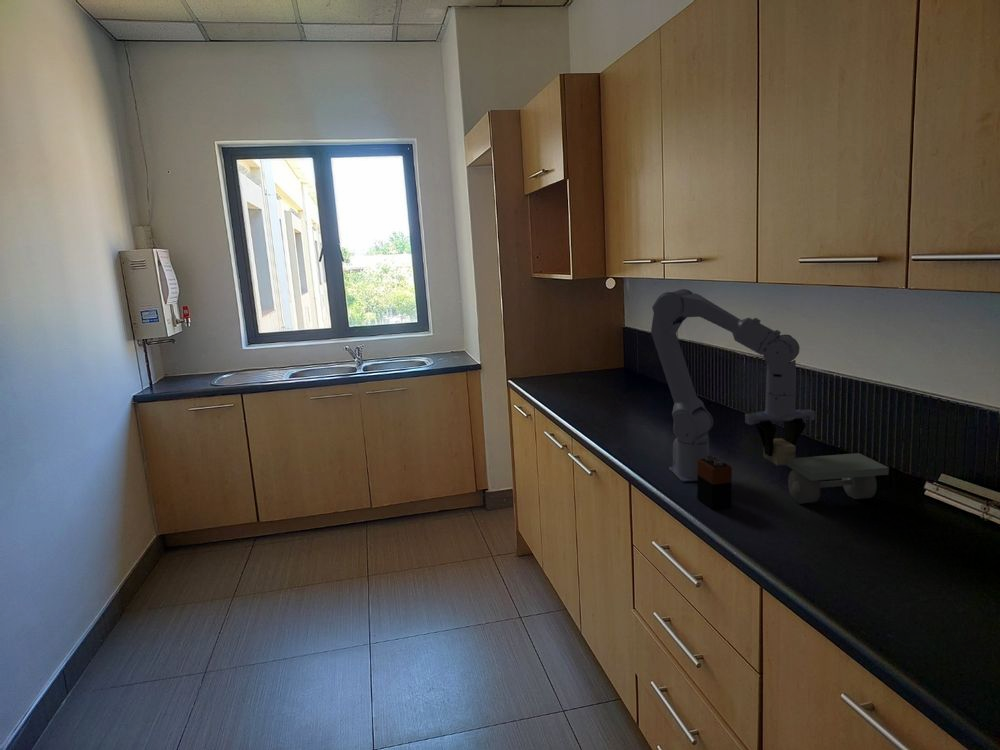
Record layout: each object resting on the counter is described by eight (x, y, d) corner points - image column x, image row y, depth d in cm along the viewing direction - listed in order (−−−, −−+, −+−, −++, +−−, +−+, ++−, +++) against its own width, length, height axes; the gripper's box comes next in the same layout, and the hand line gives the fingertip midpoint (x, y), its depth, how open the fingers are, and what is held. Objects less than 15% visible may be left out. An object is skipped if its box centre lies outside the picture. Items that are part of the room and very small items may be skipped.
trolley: (785, 496, 137) (786, 458, 136) (856, 490, 138) (858, 453, 137) (809, 514, 128) (811, 473, 126) (886, 507, 129) (888, 467, 127)
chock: (763, 456, 142) (763, 439, 141) (780, 455, 142) (781, 438, 141) (776, 465, 136) (777, 447, 135) (795, 464, 136) (795, 446, 136)
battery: (713, 510, 132) (713, 464, 130) (696, 499, 138) (696, 454, 136) (732, 508, 133) (733, 462, 131) (714, 496, 139) (715, 452, 137)
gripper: (756, 399, 132) (754, 462, 135) (823, 394, 133) (821, 456, 135) (741, 392, 139) (740, 452, 141) (805, 387, 140) (803, 447, 142)
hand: (778, 453), depth 139 cm, fingers closed on chock, 4 cm apart
